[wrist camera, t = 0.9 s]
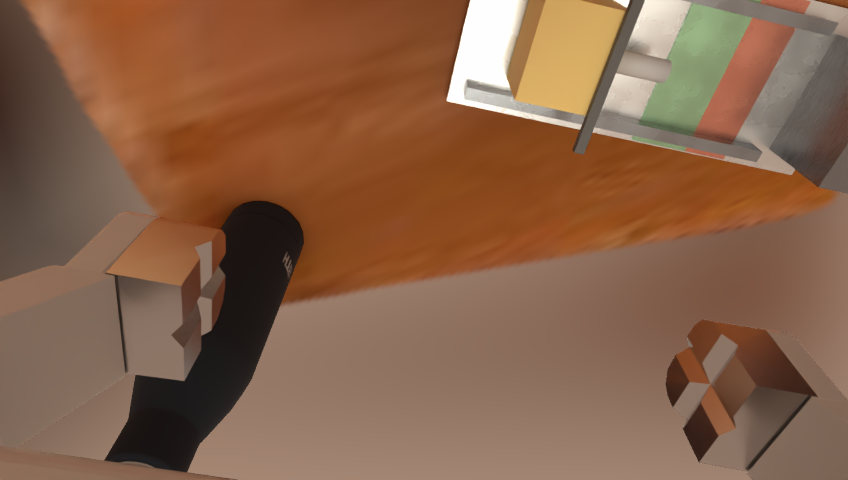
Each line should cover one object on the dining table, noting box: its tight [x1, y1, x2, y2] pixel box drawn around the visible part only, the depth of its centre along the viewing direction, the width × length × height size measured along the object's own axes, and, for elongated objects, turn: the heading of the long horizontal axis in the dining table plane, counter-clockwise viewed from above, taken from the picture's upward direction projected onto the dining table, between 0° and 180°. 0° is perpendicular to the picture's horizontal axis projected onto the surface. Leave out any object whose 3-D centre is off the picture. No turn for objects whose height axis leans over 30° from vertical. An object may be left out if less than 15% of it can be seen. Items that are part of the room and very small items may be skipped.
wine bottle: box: [104, 201, 304, 472], centre depth 32 cm, size 6×6×30 cm
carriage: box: [506, 0, 672, 154], centre depth 33 cm, size 10×9×5 cm
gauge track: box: [446, 0, 848, 193], centre depth 34 cm, size 11×26×7 cm, turn 78°
